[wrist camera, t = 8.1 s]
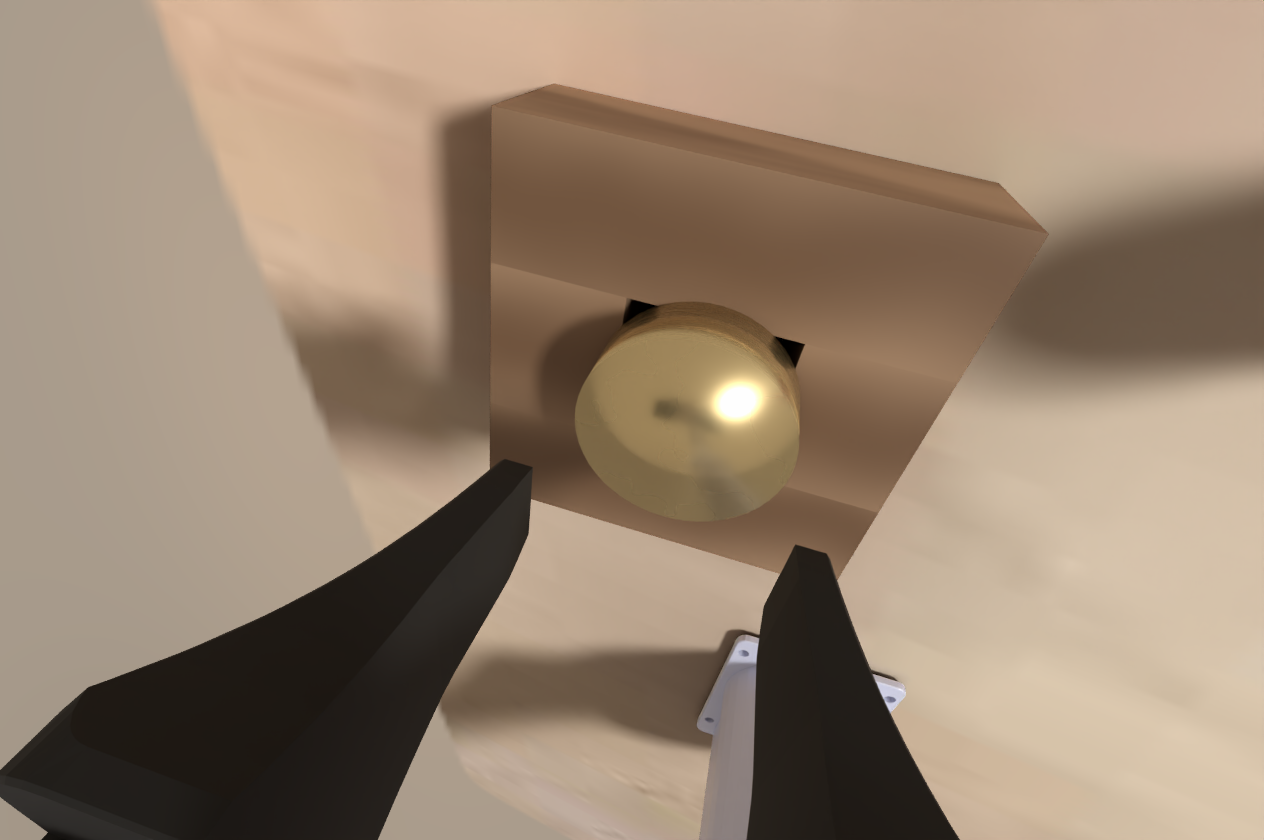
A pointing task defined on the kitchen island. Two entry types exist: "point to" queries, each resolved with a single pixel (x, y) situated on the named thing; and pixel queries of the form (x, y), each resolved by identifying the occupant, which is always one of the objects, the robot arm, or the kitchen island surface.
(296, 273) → the kitchen island surface
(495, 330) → the walnut block
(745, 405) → the brass pin
